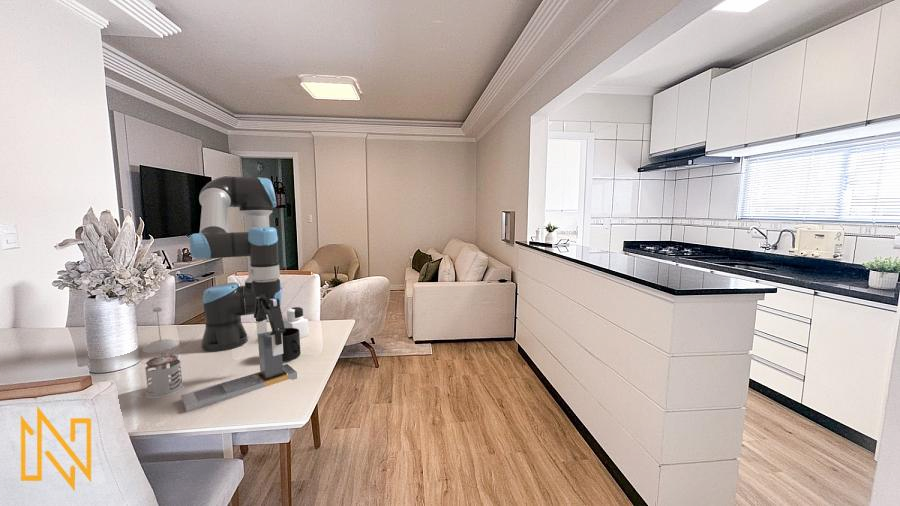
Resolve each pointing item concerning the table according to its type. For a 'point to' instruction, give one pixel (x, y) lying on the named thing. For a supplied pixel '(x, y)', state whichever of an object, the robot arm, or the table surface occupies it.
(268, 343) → the graphite post
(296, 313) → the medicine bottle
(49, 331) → the table surface
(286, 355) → the mug
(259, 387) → the rail
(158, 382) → the french press
